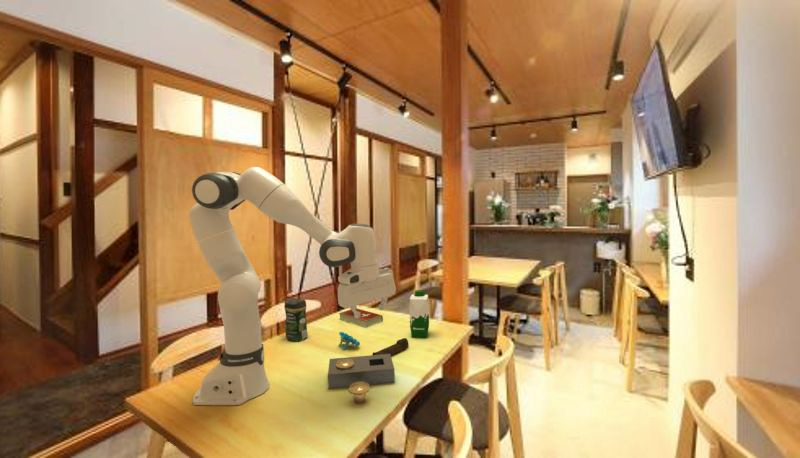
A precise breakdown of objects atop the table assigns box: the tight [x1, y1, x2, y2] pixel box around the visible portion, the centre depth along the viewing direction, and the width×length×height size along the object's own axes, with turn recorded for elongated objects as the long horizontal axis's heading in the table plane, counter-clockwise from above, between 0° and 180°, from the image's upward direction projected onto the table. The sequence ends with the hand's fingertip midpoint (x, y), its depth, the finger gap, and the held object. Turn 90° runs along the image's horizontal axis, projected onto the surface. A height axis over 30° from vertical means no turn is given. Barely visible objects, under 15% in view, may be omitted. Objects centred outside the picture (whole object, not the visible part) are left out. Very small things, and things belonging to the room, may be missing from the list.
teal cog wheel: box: [338, 331, 361, 351], centre depth 149 cm, size 11×6×10 cm
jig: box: [327, 354, 396, 390], centre depth 123 cm, size 22×12×6 cm, turn 98°
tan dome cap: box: [348, 382, 371, 405], centre depth 108 cm, size 6×6×5 cm
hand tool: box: [371, 337, 409, 356], centre depth 141 cm, size 19×4×5 cm, turn 134°
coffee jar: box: [284, 297, 309, 342], centre depth 161 cm, size 10×8×19 cm
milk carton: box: [408, 289, 430, 339], centre depth 161 cm, size 9×9×20 cm
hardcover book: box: [338, 308, 384, 328], centre depth 184 cm, size 12×21×4 cm, turn 48°
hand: (370, 313), depth 116 cm, fingers open, 8 cm apart
